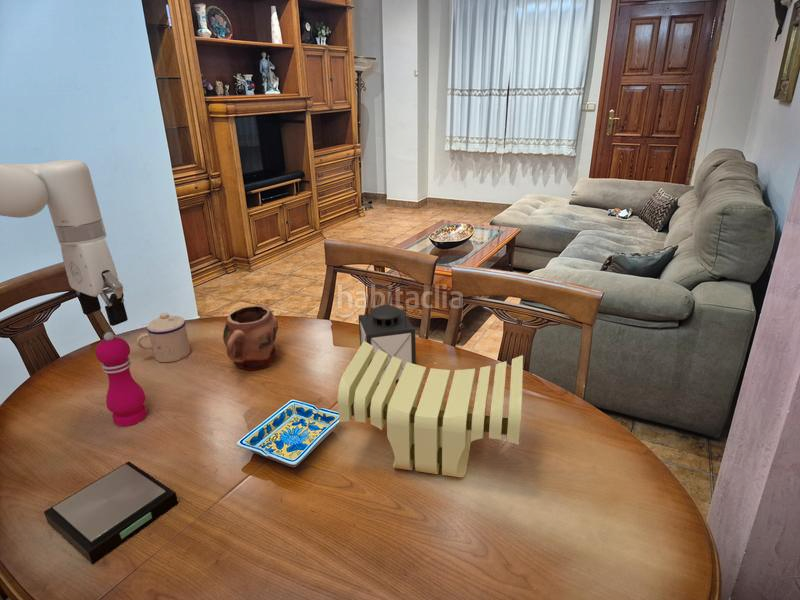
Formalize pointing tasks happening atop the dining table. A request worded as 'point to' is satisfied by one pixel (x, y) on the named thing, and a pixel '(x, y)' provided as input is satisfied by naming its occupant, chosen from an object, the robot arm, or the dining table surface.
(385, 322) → the lantern
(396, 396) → the slatted curved stool
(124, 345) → the pepper mill
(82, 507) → the kitchen scale
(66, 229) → the robot arm
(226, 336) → the decorative planter
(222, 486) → the dining table surface
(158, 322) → the teacup with lid
